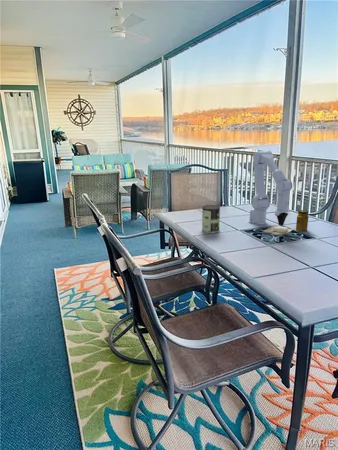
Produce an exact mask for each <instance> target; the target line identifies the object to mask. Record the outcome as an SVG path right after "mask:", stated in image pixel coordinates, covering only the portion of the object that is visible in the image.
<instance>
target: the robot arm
mask: <svg viewBox="0 0 338 450" xmlns="http://www.w3.org/2000/svg"><path fill="white" fill-rule="evenodd" d="M252 160H253V161H252V162H253V169H254V182H255V184H254V185H255V195H254V196H253V197H252V201H251V207H252V208H251V209H250V212H249V221H248V223H250V224H258V225H265V224H267V223H268V221H267V210H268V209H269V208H270V205H271V202H270V198H269V195H268V194H267V193H266V190H265V189H266V188H265V186H266V185H265V171H264V168H265V166H267V167H268V168H269V170H270V171H271V173H272V175H271V176H272V179H274V182H275V183H276V190H277V192H276V193H277V194H278V195H277V204H276V205H277V206H276V210H275V212H274V216H276V219H277V223H278V224H277V225H278V226H282V227H284V224H285V221H286V218H287V217H288V215H289V212H290V207H289V200H290V191H291V190H293V183H292V182H293V181H292V180H290V179H288V178H287V177H286V176H285V173H284V172H283V171H282V170H281V169H279V168H278V166H277V164H276V161H275V160H274V154H273V152H272V151H270V150H267V151H259V150H258V151H255V153H253V156H252Z"/></svg>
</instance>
